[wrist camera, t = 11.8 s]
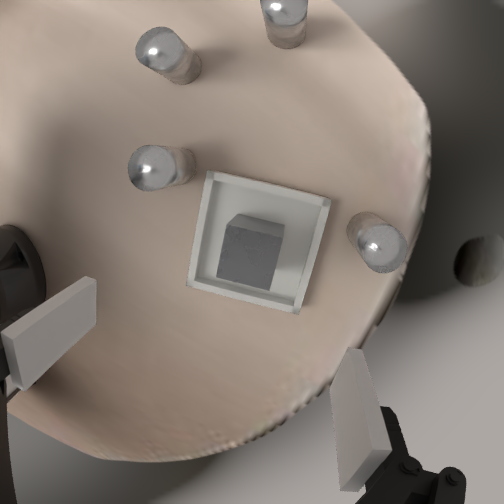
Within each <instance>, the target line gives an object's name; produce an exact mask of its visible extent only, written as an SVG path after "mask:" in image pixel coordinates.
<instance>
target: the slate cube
mask: <svg viewBox="0 0 504 504" xmlns="http://www.w3.org/2000/svg"><path fill="white" fill-rule="evenodd" d="M284 227H285V225H283V224H279V223H275V222H271V221H267V220H263V219H258V218H254V217H250V216H246V215H242V214H237V215H236V216H235V217H234V218H232V219H231V220H230V221H229V222H228V223H227V224H226V229H225V234H224V239H223V244H222V249H221V254H220V259H219V264H218V269H217V274H216V277H217V278H221V279H225V280H228V281H232V282H236V283H240V284H244V285H248V286H252V287H256V288H260V289H264V290H268V291H270V287H271V284H272V280H273V276H274V272H275V268H276V265H277V261H278V257H279V253H280V249H281V245H282V241H283V236H284Z"/></svg>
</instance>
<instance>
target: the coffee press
mask: <svg viewBox="0 0 504 504" xmlns="http://www.w3.org/2000/svg"><path fill="white" fill-rule="evenodd" d="M5 379H6V384H7V403H8V402H9V401H10V400H11V399H12V398H14V397H15V396H16V395H17V394H18V393H19V392H20V391H21V389H19V388H18V387H16V386H15V385H13V383H12V380H11V376H10V374H9V375H8V376H7V377H6V378H5ZM34 384H36V381H35V382H34V383H33V384H32V385H34Z"/></svg>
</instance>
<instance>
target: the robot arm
mask: <svg viewBox="0 0 504 504" xmlns="http://www.w3.org/2000/svg"><path fill="white" fill-rule="evenodd" d="M96 290H97V280H96V279H93V278H90V277H87V276H84V277H83V278H81V279H80V280H78V281H76V282H75V283H73V284H72V285H70V286H69V287H67V288H65V289H64V290H62V291H61V292H59V293H58V294H56V295H55V296H53V297H51V298H50V299H48V300H47V301H45V302H44V300H45V294H46V283H45V276H44V271H43V267H42V264H41V261H40V259H39V256H38V254H37V252H36V250H35V248H34V246H33V245H32V243H31V242H30V240H29V239H28V238H27V236H26V235H25V234H24V233H23V232H22V231H20V230H19V229H18V228H16V227H14V226H11V225H3V226H0V504H17V500H16V495H15V489H14V484H13V477H12V469H11V461H10V452H9V442H8V427H7V384H6V379H5V378H6V377H7V376H8V375H9V374H10V376H11V380H12V383H13V385H15V386H16V387H18V388H19V389H21V390H23V391H24V392H25V391H26V390H27V389H28V388H29V387H30V386H31V385H32V384H33V383H34V382H35V381H36V380H37V379H38V378H40V377H41V376H42V375H43V374H44V373H45V372H46V371H47V370H48V369H49V368H50V367H51V366H52V365H53V364H54V363H55V362H56V361H57V360H58V359H59V358H60V357H61V356H63V355H64V354H65V353H66V352H67V351H68V350H69V349H70V348H71V347H72V346H73V345H74V344H75V343H76V342H78V341H79V340H80V339H81V338H82V337H83V336H84V335H85V334H86V333H87V332H88V331H89V330H91V329H92V328H93V327H94V326H95V325H96ZM329 391H330V398H331V406H332V414H333V423H334V431H335V441H336V451H337V461H338V472H339V483H340V491H353V492H358V491H359V490H360V489H361V488H362V487H363V486H364V484H365V487H366V493H365V494H364V495H363V496H362V497H361V498H360V499H359V500H358V501H357V502H356V503H355V504H464V501H465V492H466V478H465V476H464V474H463V473H462V472H461V471H460V470H459V469H456V468H454V467H446V468H444V469H443V470H442V471H441V472H440V473H439V474H437V473H433V472H429V471H426V470H423V469H422V466H421V464H420V462H419V461H418V460H416V459H415V458H413V457H411V456H409V454H408V450H407V447H406V444H405V441H404V438H403V434H402V433H401V428H400V426H399V422H398V419H397V416H396V414H395V413H394V412H393V411H392V410H391V408H390V407H383V406H380V405H379V402H378V399H377V395H376V392H375V389H374V385H373V382H372V379H371V376H370V373H369V370H368V367H367V364H366V360H365V358H364V354H363V351H362V350H360V349H355V348H350V347H348V348H347V351H346V353H345V355H344V358H343V360H342V362H341V364H340V367H339V369H338V371H337V373H336V376H335V378H334V380H333V382H332V384H331V386H330V389H329Z"/></svg>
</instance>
